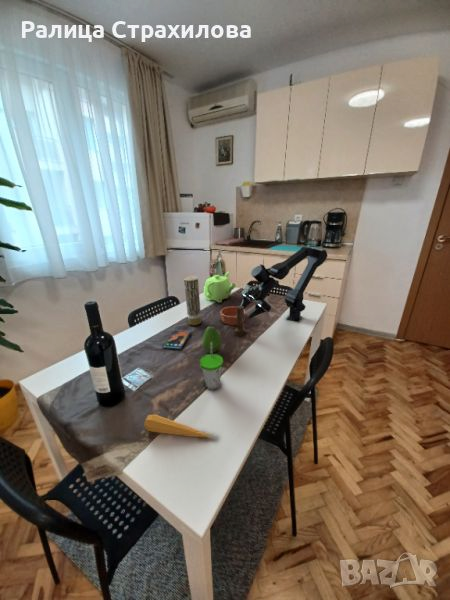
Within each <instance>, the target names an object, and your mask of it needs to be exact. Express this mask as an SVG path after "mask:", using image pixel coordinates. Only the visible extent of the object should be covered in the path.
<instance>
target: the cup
mask: <svg viewBox="0 0 450 600" xmlns="http://www.w3.org/2000/svg"><path fill="white" fill-rule="evenodd" d="M223 364H224V359H223V356H221V355H220V354H217V353H214V352H212V342H211V353H208V354H205V355H203V356H202V357H201V358H200V359H199V365H200V368H201V369H202V374H203V377H204V382H205V387H206V388H207V389H208V390H210V391H211V390H212V391H214V390H217V389H219V387H220V384H221V376H222V375H221V374H222V368H223V367H222V366H223Z"/></svg>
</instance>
